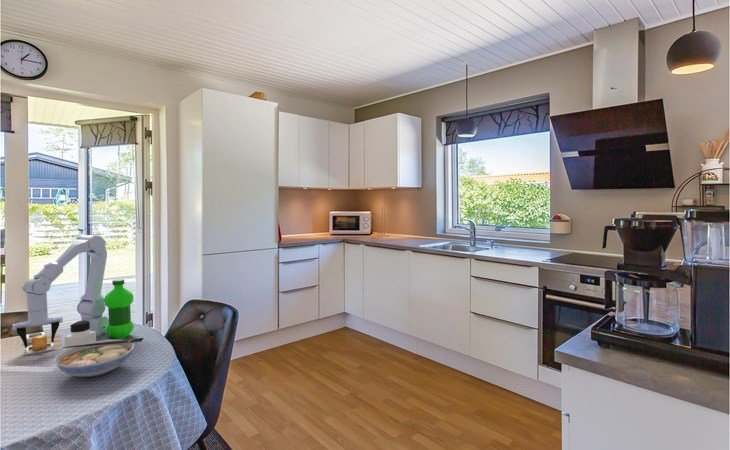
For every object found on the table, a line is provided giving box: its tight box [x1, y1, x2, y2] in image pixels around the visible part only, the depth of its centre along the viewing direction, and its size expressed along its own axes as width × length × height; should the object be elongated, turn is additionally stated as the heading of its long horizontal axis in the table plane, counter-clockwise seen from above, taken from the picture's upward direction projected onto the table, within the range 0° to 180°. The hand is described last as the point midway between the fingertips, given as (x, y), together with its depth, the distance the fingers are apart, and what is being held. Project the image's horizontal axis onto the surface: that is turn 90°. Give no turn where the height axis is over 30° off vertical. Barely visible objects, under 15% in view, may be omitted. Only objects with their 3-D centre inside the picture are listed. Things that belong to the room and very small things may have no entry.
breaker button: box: [29, 331, 42, 338], centre depth 156 cm, size 3×3×2 cm
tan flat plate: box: [23, 332, 63, 357], centre depth 152 cm, size 23×11×2 cm, turn 40°
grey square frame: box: [24, 343, 54, 357], centre depth 146 cm, size 8×8×1 cm
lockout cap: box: [32, 334, 48, 351], centre depth 146 cm, size 4×4×5 cm
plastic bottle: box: [104, 278, 134, 340], centre depth 163 cm, size 10×10×25 cm
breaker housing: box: [26, 331, 46, 344], centre depth 156 cm, size 6×6×2 cm
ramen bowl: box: [53, 337, 144, 378], centre depth 130 cm, size 25×23×8 cm
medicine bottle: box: [64, 319, 97, 351], centre depth 148 cm, size 7×7×12 cm
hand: (39, 344), depth 146 cm, fingers open, 7 cm apart
